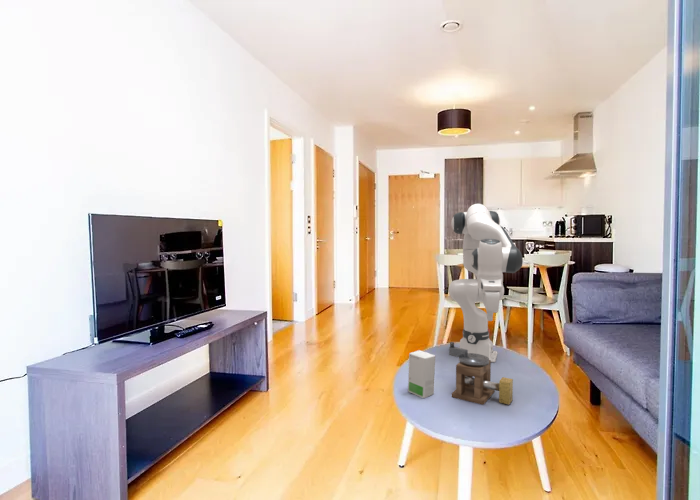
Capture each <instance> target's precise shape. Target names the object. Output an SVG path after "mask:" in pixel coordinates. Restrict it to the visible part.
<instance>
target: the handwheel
mask: <svg viewBox="0 0 700 500" xmlns="http://www.w3.org/2000/svg"><path fill="white" fill-rule="evenodd" d="M448 351H449V353H448V356H451V357H454V358H455V357H456V358H458V363H459V362H460V363H462V364H464V365H468V366H474V367H481V366H486V365H488V364H489V358H488V357H486V356H484V355H481V354H474V353H468V350H466V349H462V348H460V347H456V346H455V342H454V341H451V342H449V349H448Z"/></svg>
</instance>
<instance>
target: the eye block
mask: <svg viewBox="0 0 700 500" xmlns="http://www.w3.org/2000/svg"><path fill="white" fill-rule="evenodd" d="M491 363H492V362H491V360H489V364H488V365H486V366H481V367H474V366H468V365H464V364H462V363H460V362H459V361H458V363H457V364H456V365H455V389H454V391H452V392H451V398H455V399H458V400H462V401H466V402H470V403H473V404H477V405H481V406H482V405H483V406H484V405H485V404H486V402H488V401H489V399H490V398H491V397H492V396H493V394H495V390H491V389H487V388H483V380H486V381H491V374H492V372H491V370H492V367H491ZM465 376H467V377H472V378H475V382H474V386H473V385H469V384H465Z"/></svg>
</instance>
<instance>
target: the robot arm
mask: <svg viewBox="0 0 700 500" xmlns="http://www.w3.org/2000/svg"><path fill="white" fill-rule="evenodd" d="M450 222H451V223H450V224H451V228H452V231H453V232H454V233H455V234H458V235H463V240H462V241H463V242H462V259H463V260H462V261H463V262H462V263H463V264H462V265H463V267H464V268H465V270H467V271H469V272H471V273H473V274H474V275H475V277H476V278H461V279H455V280H452V281H451V282H450V284H449V286H448V293H449V296H450V298H451V300H452V301H454V302H456V304H458V306H459V307H460V309H461V311H462V315H463V330H462V337H461V339H460V340H459V348H462V349H466V350H468V353H474V354H481V355H484V356H486V357H488V358H489V360H491V363H496V362H497V358H498V354H499V353H498V351H496V350H494V343H493V341H492V339H490V332H491V330H490V328H489V326H488V325H489V322H492V321H493V319H494V313H499V309H500V301H501V299H502V298H503V297H504V294H505V287H504V283H503V282H504V274H503V273H507V274H515V273H516V272H518V271H519V270H520V269H521V268H522V267H523V263H524V262H523V261H524V260H523V255H522V252H521V250H520V249H519V248H518V247H517V246H516V245H515V243H514V242H513V240H512V239H511V237H510V235H509V234H508V232H507V231H506V229H505V228H504V226H502V225H501V219H500V216H499V213H498V212H497V211H493V210H489V209H488V207H486V206H485V205H484V204H482V203H474V204H472V205H471V206H469V207H468V209H467V211H464V212H462V211H460V212H457V213H456V212H455V214H454V215H453V217H452V219H451V221H450ZM477 302H478V303H479V302H480V303H482V304H483V306H484V308H485V310H486V311H484V310H482V309H481V308H479V307H477V306H476V303H477Z"/></svg>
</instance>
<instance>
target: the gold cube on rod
mask: <svg viewBox="0 0 700 500" xmlns="http://www.w3.org/2000/svg"><path fill="white" fill-rule="evenodd" d="M474 382H475V377H473V378H472V377H467V376H465V384H469V385H473V386H474ZM513 382H514V379H513V378H509V377H505V376H503V377H501V378H500V380H499V382H494V381H491V380H490V381H486V380H483V388H487V389H491V390H495V391H497V392H498V395H499V396H498V402H499V403H500V404H505V405H508V406H509V405H510V404H511V403H512V402H513V393H514V392H513V388H514V386H513V384H514V383H513Z"/></svg>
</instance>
